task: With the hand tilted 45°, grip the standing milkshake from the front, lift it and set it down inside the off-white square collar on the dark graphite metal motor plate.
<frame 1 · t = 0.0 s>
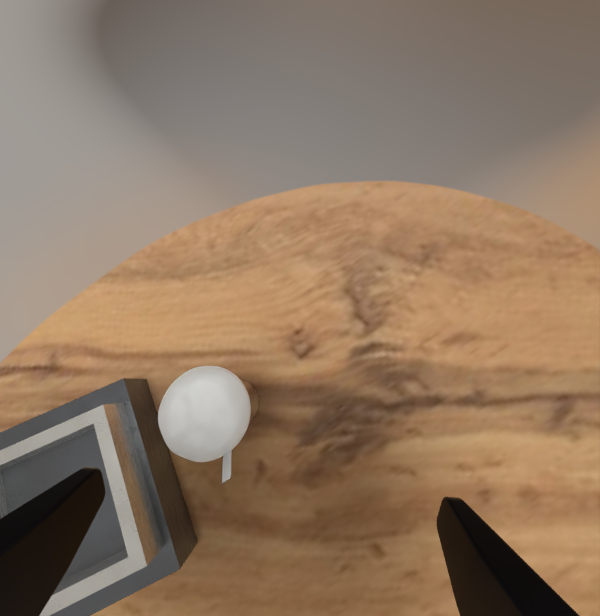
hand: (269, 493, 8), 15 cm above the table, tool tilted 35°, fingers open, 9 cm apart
motor plate: (103, 487, 21), on the table
milkshake: (241, 406, 23), on the table
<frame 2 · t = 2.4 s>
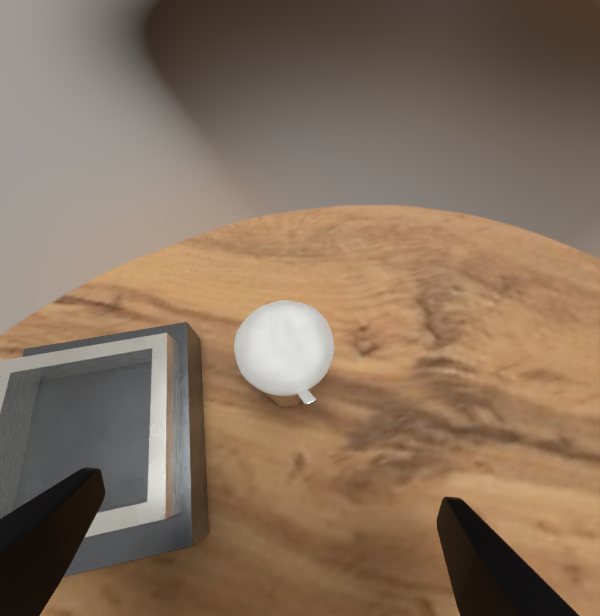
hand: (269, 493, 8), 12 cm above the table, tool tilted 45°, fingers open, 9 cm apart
motor plate: (125, 437, 19), on the table
milkshake: (290, 390, 21), on the table
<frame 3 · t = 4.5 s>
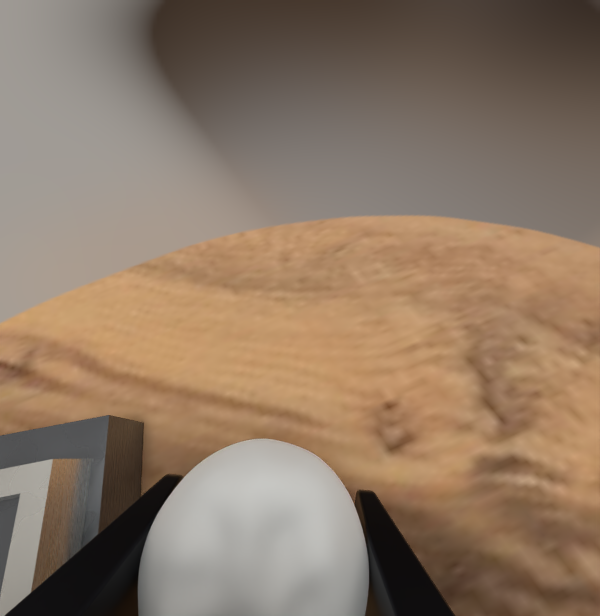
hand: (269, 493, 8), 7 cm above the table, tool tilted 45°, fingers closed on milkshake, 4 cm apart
motor plate: (4, 609, 12), on the table
milkshake: (278, 513, 13), on the table, touching gripper
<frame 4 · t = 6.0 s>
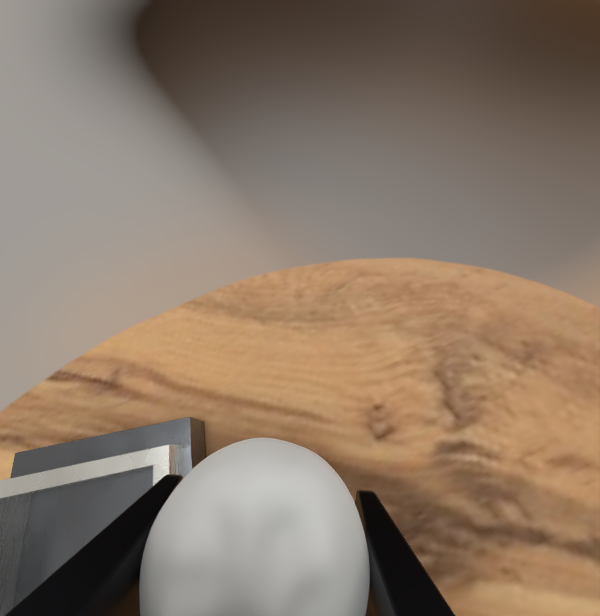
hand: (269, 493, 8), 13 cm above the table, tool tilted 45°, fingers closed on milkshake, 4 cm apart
motor plate: (125, 543, 18), on the table
milkshake: (279, 512, 13), point 6 cm above the table, touching gripper
when the fingers open (11 cm above the table, at t = 7.7 s): milkshake drops 1 cm, resting on motor plate.
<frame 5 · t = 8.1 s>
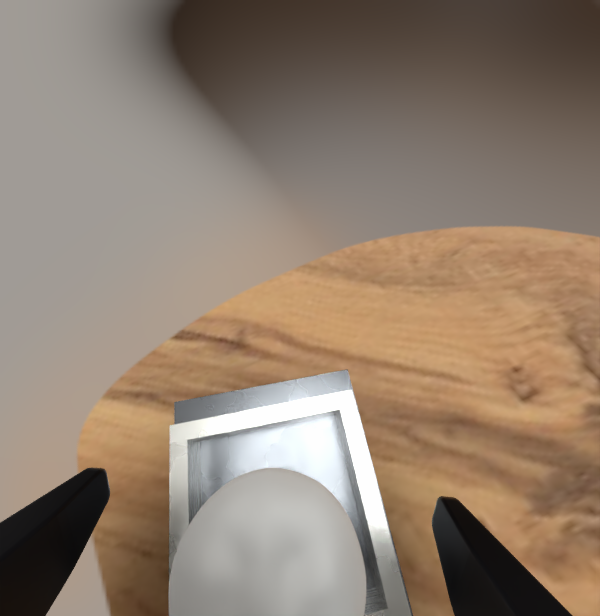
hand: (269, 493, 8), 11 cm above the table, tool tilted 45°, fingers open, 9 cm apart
motor plate: (282, 499, 17), on the table
milkshake: (283, 513, 14), point 3 cm above the table, touching motor plate
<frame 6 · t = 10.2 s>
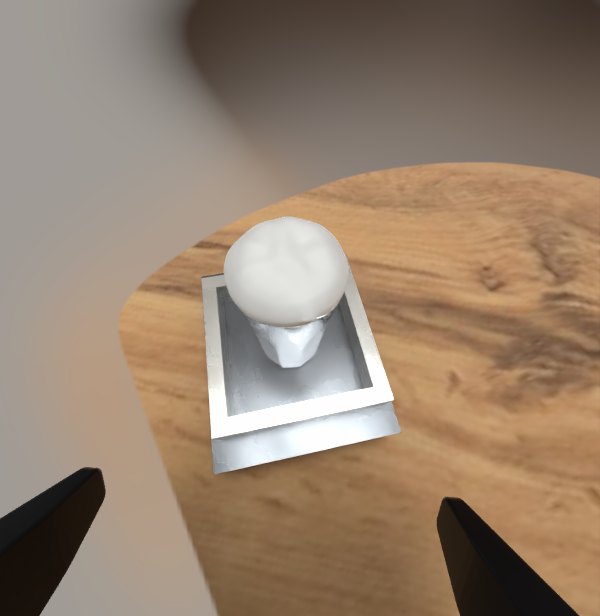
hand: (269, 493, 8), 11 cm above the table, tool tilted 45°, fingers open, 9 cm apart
motor plate: (290, 359, 21), on the table
milkshake: (292, 349, 18), point 3 cm above the table, touching motor plate
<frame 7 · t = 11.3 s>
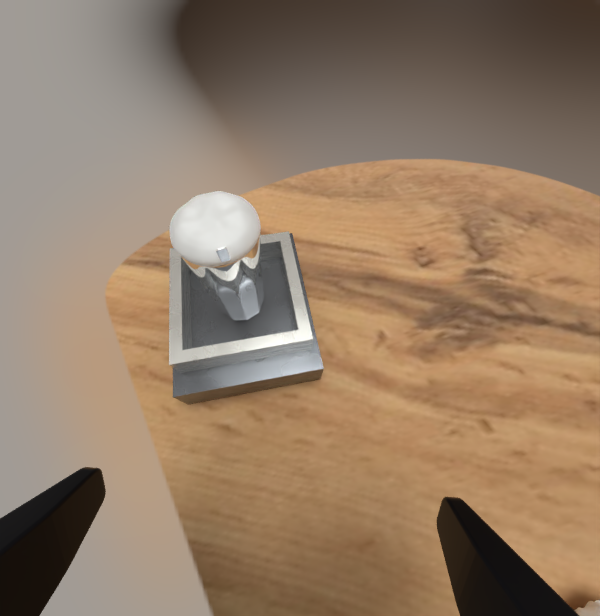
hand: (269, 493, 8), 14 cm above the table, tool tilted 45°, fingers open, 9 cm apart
motor plate: (246, 320, 25), on the table
milkshake: (243, 307, 22), point 3 cm above the table, touching motor plate
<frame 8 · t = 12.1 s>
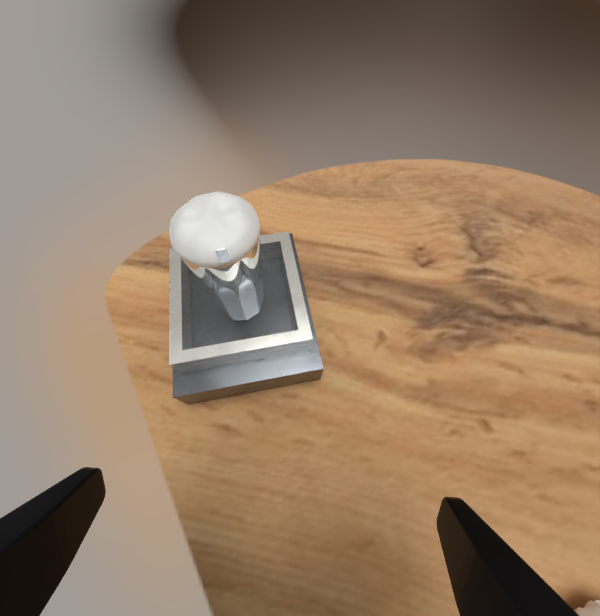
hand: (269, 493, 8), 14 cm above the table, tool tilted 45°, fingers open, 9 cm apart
motor plate: (246, 320, 25), on the table
milkshake: (243, 307, 22), point 3 cm above the table, touching motor plate
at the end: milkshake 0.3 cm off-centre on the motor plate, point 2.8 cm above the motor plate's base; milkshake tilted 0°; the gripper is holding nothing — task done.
